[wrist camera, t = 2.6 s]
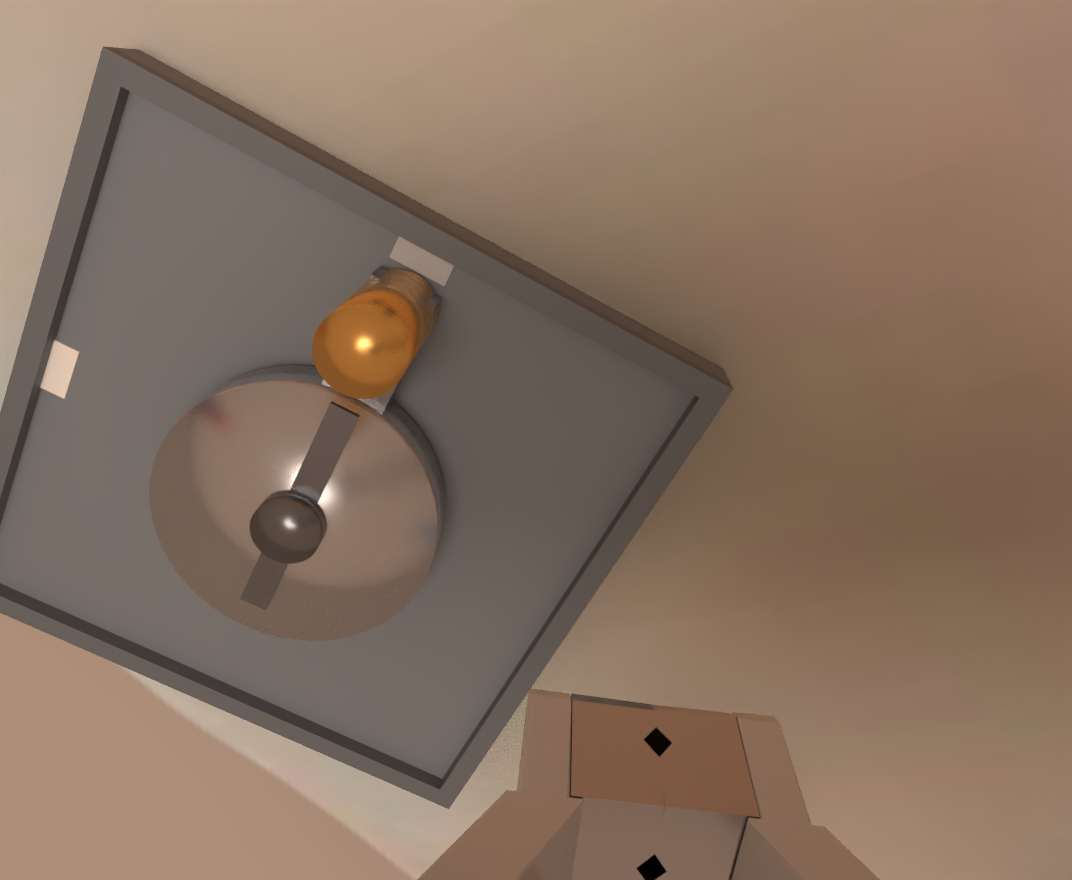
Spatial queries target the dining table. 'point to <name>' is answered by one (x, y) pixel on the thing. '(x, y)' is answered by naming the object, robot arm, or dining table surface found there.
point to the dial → (310, 478)
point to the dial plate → (286, 339)
